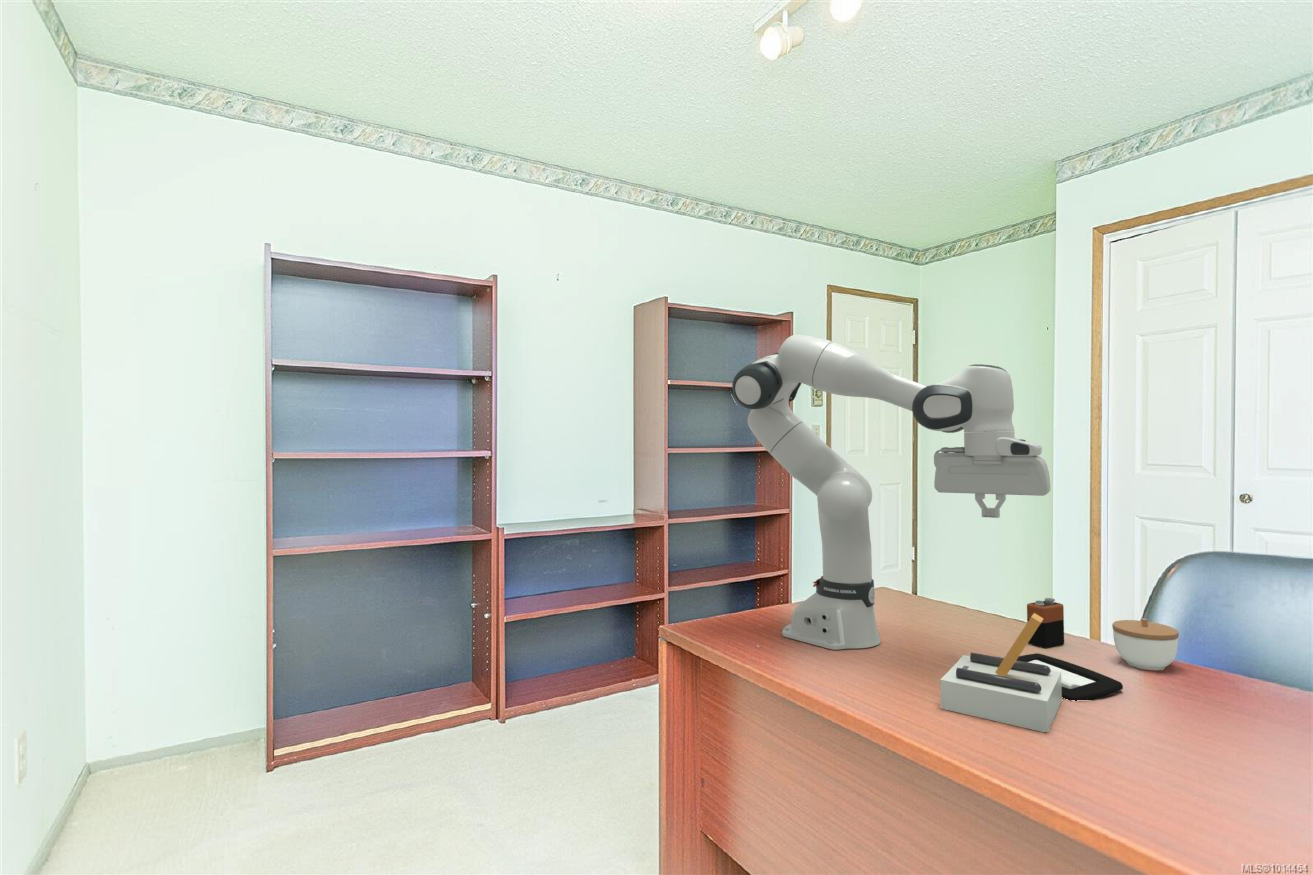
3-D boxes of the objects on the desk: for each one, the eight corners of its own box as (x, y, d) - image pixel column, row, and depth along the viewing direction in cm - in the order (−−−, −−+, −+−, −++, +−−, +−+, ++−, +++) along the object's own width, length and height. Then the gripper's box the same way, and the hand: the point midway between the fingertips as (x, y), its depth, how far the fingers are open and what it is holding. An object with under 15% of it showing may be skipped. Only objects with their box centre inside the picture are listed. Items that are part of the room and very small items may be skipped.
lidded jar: (1138, 654, 138) (1137, 610, 138) (1193, 670, 128) (1191, 623, 128) (1100, 660, 135) (1099, 615, 135) (1153, 677, 125) (1152, 628, 125)
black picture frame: (983, 660, 132) (1036, 646, 136) (985, 674, 132) (1038, 659, 136) (1072, 696, 113) (1130, 678, 117) (1074, 712, 113) (1132, 694, 117)
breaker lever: (995, 672, 113) (1031, 616, 109) (998, 667, 115) (1034, 612, 112) (1004, 678, 112) (1040, 622, 108) (1007, 673, 114) (1043, 618, 111)
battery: (1065, 644, 145) (1064, 600, 145) (1044, 649, 142) (1043, 603, 142) (1047, 639, 149) (1046, 596, 149) (1026, 643, 146) (1025, 599, 146)
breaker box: (941, 708, 112) (940, 670, 112) (964, 680, 125) (963, 646, 125) (1048, 733, 102) (1047, 691, 102) (1061, 700, 115) (1060, 663, 115)
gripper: (929, 447, 131) (930, 515, 131) (1045, 446, 118) (1047, 522, 118) (937, 447, 136) (939, 512, 136) (1051, 445, 123) (1052, 518, 123)
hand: (990, 517), depth 127 cm, fingers closed
